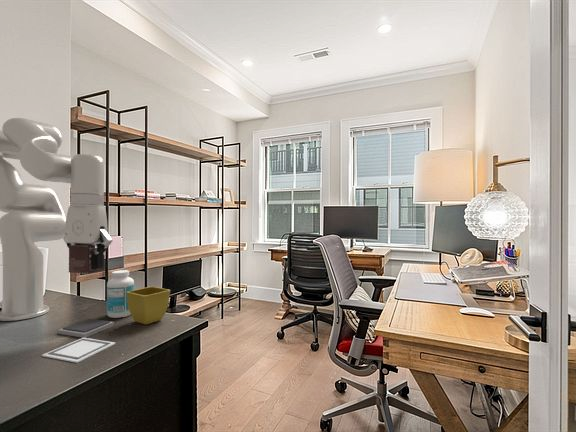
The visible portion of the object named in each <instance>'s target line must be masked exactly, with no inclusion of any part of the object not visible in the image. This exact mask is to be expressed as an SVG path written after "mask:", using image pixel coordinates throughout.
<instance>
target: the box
mask: <svg viewBox="0 0 576 432" xmlns="http://www.w3.org/2000/svg"><path fill="white" fill-rule="evenodd" d="M98 247H99V245H97V248H98ZM92 254H94V253H93V250H92V246H91V244H76V245H69V248H68V273H70V274H71V273H72V274H84V275H85V274H92V273H97V272H101V271H105V269H106V252H105V253H104V264H103V268H100V269H95V270H94V269H92Z"/></svg>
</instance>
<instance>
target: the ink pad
mask: <svg viewBox="0 0 576 432" xmlns="http://www.w3.org/2000/svg"><path fill="white" fill-rule="evenodd" d="M114 326H115V322H114V321H108V320H100V319H94V318H86V319H84V320H82V321H79V322H75V323H74V324H71V325H70V324H69V325H68V326H65V327H62V328H59V329H58V332H57V334H58V335H64V336H71V337H77V338H89V337H91V336H92V335H96V334H98V333H100V332H102V331H105V330H107V329H109V328H111V327H114Z"/></svg>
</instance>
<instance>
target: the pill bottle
mask: <svg viewBox="0 0 576 432" xmlns="http://www.w3.org/2000/svg"><path fill="white" fill-rule="evenodd" d="M129 275H130V270H128V269H127V270H126V269H124V270H123V269H121V270H114V271H112V272H111V276H112V278H111V279H109V280H108V281H107V282H106V313H107V317H108V318H113V319H120V318H121V317H122V318H125V317H129V316H131V314H130V311H129V308H128V301H127V293H126V292H128V291H132V290H135V281H134V278H132V277H129Z"/></svg>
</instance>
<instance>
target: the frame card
mask: <svg viewBox="0 0 576 432" xmlns="http://www.w3.org/2000/svg"><path fill="white" fill-rule="evenodd" d="M113 345H116V342H115V341H114V342H113V341H108V340H102V339H101V340H100V339H95V338H89V337H86V338H82V337H80V338H79V339H76V340H75V341H72V342H69V343H67V344H65V345H63V346H60V347H58V348H55V349H53V350H51V351H48V352H46V353H43V354H42V355H41V357H44V358H49V359H54V360H61V361H66V362H71V363H79V362H82V361H83V360H86V359H87V358H90V357H92V356H94V355H96V354H97V353H99V352H102V351H104V350H106V349H108V348H110V347H112V346H113Z"/></svg>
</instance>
